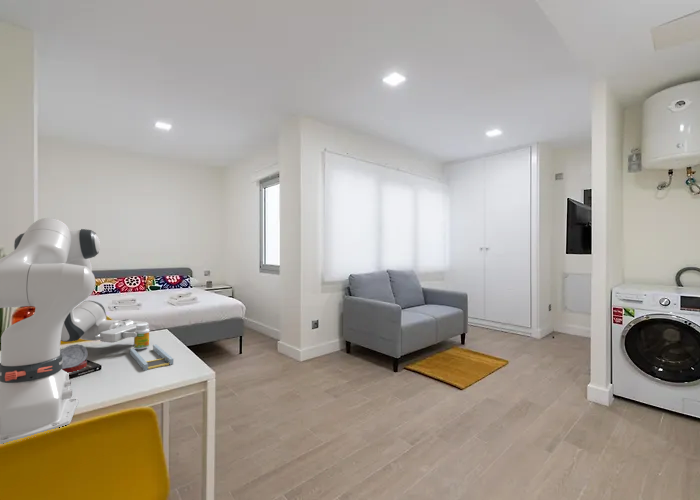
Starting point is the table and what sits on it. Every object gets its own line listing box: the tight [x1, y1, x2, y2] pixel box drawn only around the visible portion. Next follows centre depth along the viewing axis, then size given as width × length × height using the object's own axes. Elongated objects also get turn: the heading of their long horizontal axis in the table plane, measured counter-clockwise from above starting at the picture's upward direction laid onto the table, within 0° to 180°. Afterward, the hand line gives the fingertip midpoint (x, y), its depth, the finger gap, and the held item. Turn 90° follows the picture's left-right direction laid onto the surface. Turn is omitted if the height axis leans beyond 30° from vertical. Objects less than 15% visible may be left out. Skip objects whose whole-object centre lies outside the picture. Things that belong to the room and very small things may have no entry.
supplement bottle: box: [133, 324, 150, 350], centre depth 138 cm, size 5×5×10 cm
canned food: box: [60, 344, 89, 372], centre depth 113 cm, size 11×10×10 cm
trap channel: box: [129, 344, 174, 371], centre depth 127 cm, size 24×9×2 cm, turn 44°
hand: (143, 332), depth 138 cm, fingers closed on supplement bottle, 5 cm apart
